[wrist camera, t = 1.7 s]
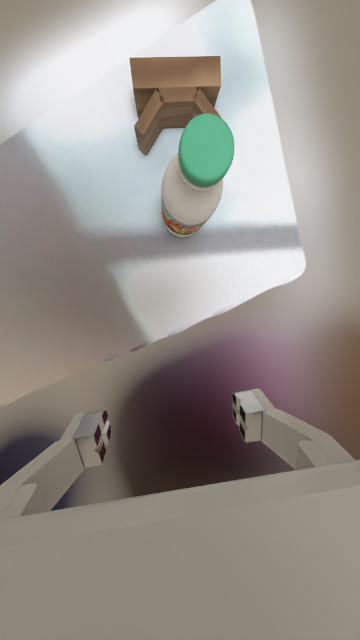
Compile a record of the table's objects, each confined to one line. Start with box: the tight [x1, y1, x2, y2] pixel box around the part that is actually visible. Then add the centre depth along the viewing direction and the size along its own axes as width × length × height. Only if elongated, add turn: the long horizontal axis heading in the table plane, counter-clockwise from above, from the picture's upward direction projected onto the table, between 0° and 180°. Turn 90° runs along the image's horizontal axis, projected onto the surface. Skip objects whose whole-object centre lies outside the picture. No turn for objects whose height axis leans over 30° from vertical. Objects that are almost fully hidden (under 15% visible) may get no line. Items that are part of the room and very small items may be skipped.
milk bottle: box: [161, 113, 234, 237], centre depth 24 cm, size 8×8×20 cm
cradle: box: [130, 56, 222, 155], centre depth 27 cm, size 8×13×5 cm, turn 95°
